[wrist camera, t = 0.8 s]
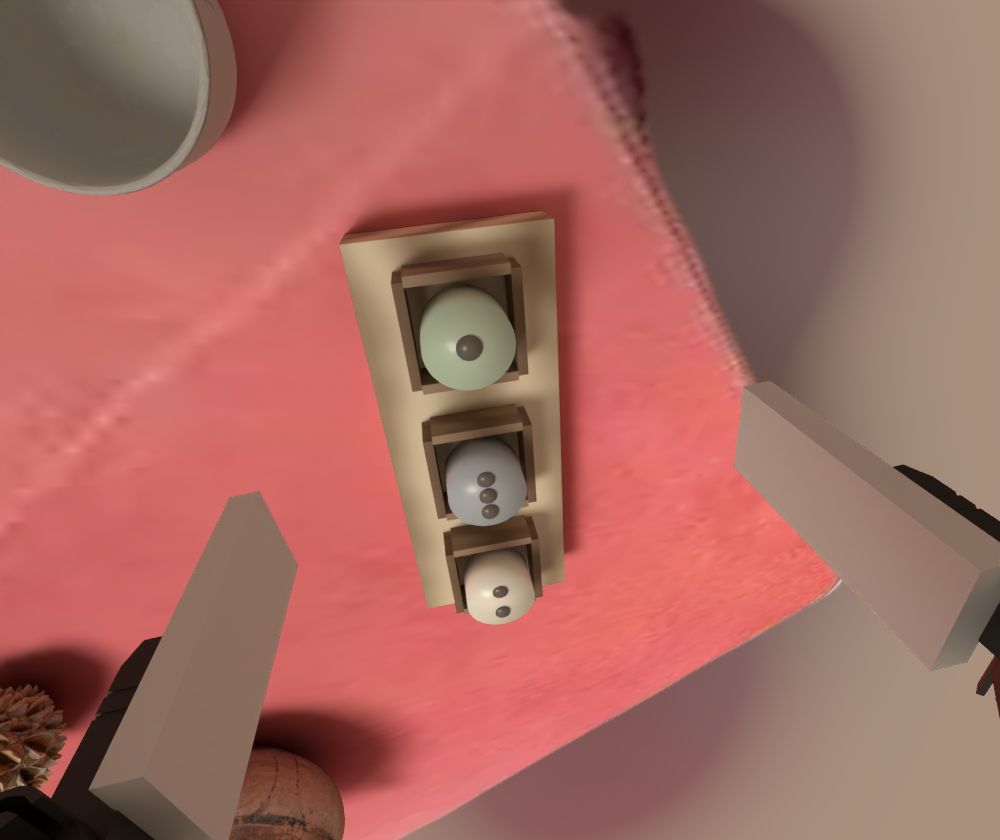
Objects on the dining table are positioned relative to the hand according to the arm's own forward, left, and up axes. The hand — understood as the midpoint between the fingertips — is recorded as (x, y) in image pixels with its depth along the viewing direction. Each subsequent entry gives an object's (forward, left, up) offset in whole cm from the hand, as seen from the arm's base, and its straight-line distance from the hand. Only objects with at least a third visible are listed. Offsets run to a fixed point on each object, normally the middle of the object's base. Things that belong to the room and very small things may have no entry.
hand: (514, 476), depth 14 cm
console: (0, -12, -21) cm, 24 cm away
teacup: (-15, +13, -22) cm, 29 cm away
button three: (0, -12, -17) cm, 20 cm away
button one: (0, -2, -17) cm, 17 cm away
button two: (0, -22, -17) cm, 27 cm away
